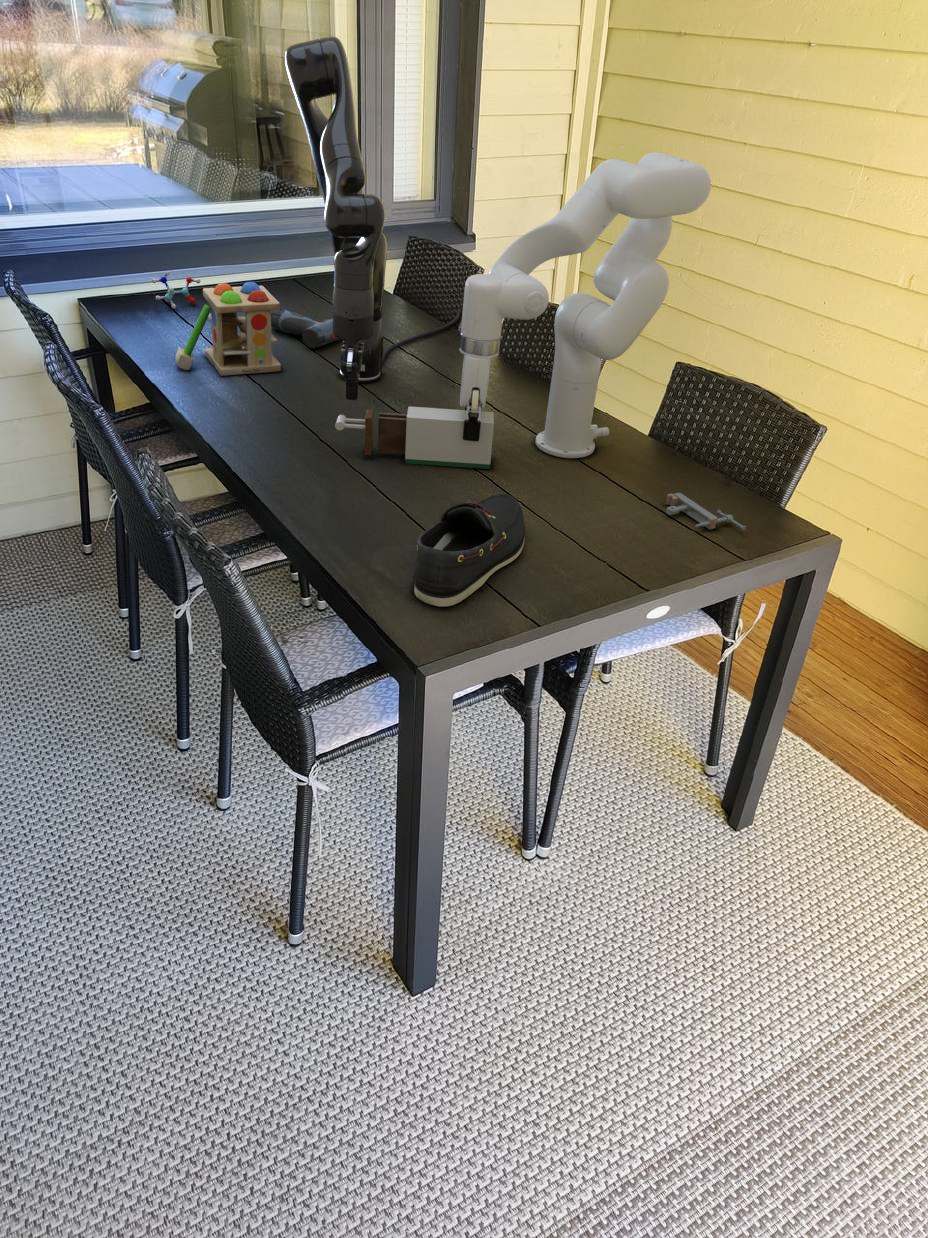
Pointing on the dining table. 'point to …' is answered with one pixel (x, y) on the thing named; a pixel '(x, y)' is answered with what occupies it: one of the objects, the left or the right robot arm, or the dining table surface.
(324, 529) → the dining table surface
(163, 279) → the molecular model
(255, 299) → the pounding bench toy
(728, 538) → the dining table surface
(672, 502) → the clamp
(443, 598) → the boat shoe
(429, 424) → the cabinet
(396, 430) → the drawer
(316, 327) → the power drill
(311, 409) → the dining table surface
